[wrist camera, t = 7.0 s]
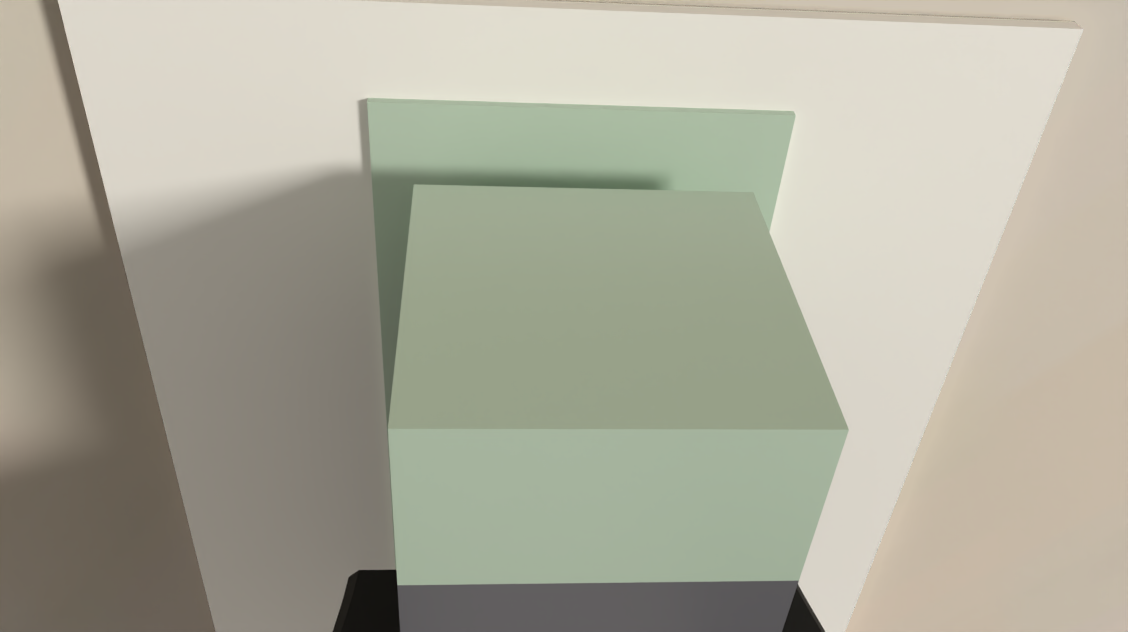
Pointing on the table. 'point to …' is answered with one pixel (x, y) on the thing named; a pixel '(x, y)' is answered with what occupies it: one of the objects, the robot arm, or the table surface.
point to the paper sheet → (524, 159)
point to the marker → (602, 414)
